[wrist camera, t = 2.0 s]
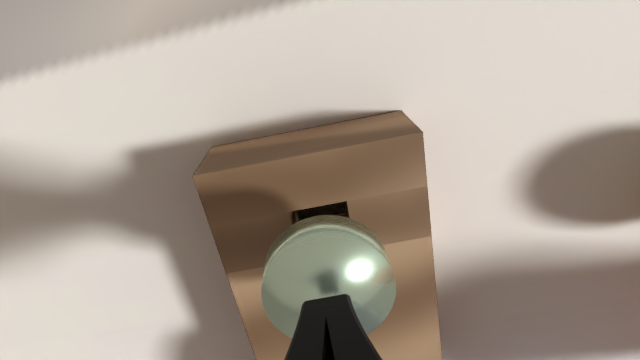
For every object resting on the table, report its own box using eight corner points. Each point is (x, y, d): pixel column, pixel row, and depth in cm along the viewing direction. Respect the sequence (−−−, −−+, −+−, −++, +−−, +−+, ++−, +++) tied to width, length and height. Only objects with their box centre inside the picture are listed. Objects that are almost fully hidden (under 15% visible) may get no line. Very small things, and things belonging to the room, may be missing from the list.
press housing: (428, 370, 25) (447, 424, 22) (289, 394, 25) (287, 450, 22) (401, 110, 18) (422, 131, 15) (211, 147, 18) (192, 176, 15)
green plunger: (378, 258, 18) (402, 333, 14) (283, 275, 18) (278, 355, 14) (365, 169, 16) (387, 225, 12) (260, 189, 16) (245, 251, 12)
